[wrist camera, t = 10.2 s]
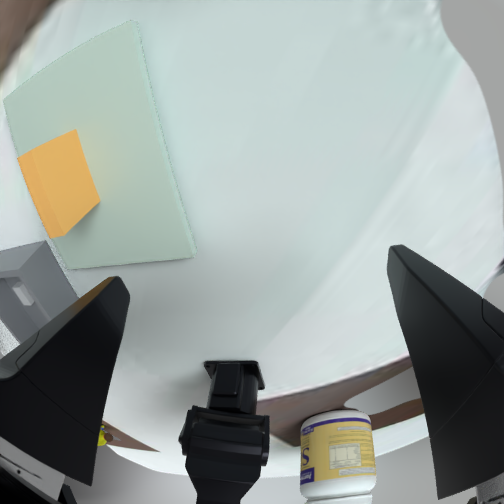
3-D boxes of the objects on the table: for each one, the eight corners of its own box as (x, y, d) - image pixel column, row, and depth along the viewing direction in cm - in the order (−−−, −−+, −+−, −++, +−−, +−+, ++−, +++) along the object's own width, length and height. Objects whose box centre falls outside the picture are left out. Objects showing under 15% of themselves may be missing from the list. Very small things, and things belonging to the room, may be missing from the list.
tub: (115, 351, 34) (103, 381, 30) (53, 343, 36) (40, 367, 32) (45, 240, 24) (18, 269, 20) (-8, 253, 26) (-29, 275, 22)
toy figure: (104, 418, 55) (96, 440, 49) (122, 427, 57) (116, 449, 51) (84, 421, 63) (77, 439, 57) (99, 430, 65) (93, 448, 59)
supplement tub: (298, 411, 40) (295, 510, 26) (374, 402, 37) (385, 499, 23) (302, 434, 46) (301, 513, 32) (365, 427, 44) (371, 504, 30)
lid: (200, 243, 23) (176, 303, 18) (77, 258, 26) (42, 304, 20) (143, 23, 14) (85, 10, 8) (17, 95, 16) (-39, 116, 10)
